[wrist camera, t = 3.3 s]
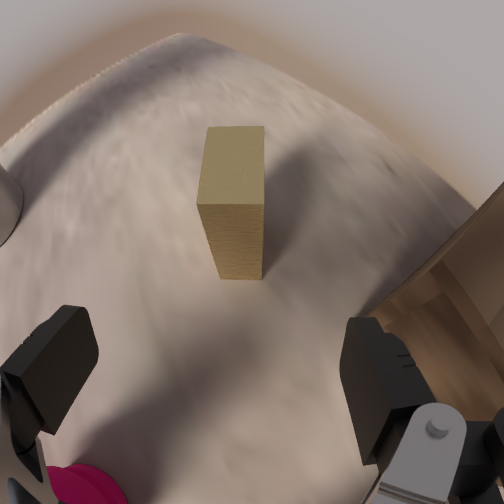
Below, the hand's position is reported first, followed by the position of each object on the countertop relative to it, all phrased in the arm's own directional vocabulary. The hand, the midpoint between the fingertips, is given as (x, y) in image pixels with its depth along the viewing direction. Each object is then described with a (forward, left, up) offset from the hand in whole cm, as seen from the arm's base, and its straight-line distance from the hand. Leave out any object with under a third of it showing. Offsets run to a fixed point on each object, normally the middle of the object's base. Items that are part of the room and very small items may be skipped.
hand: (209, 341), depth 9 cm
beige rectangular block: (-7, +5, -12) cm, 15 cm away
